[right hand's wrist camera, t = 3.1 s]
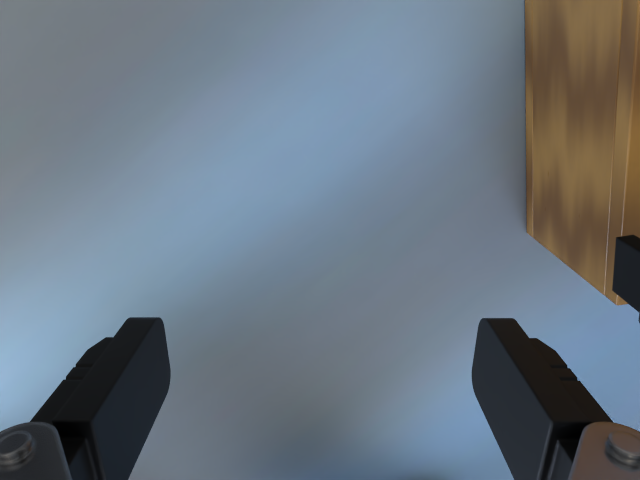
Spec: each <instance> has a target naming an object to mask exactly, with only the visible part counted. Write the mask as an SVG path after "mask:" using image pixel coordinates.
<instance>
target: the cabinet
mask: <svg viewBox="0 0 640 480" xmlns="http://www.w3.org/2000/svg"><path fill="white" fill-rule="evenodd" d="M525 65H526V191H527V233H528V234H529V235H530V236H532V237H533V238H534V239H535V240H537V241H538V242H539V243H540V244H541V245H543V246H544V247H545V248H546V249H548V250H549V251H550V252H551V253H553V254H554V255H555V256H556V257H557V258H559V259H560V260H561V261H562V262H564V263H565V264H566V265H567V266H569V267H570V268H571V269H572V270H574V271H575V272H576V273H577V274H578V275H580V276H581V277H582V278H583V279H585V280H586V281H587V282H588V283H590V284H591V285H592V286H593V287H594V288H596V289H597V290H598V291H599V292H601V293H602V294H603V295H605V296H606V297H607V298H608V299H610V300H611V301H612V302H613V303H614V304H616V305H624V304H628V303H627V302H626V301H624V300H623V299H622V298H621V297H619V296H618V295H617V294H616V293H614V292H613V291H612V285H613V272H614V258H615V245H616V237H621V236H627V235H635V236H637V237H639V238H640V0H525Z"/></svg>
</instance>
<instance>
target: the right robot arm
mask: <svg viewBox="0 0 640 480" xmlns="http://www.w3.org/2000/svg"><path fill="white" fill-rule="evenodd" d="M472 384H473V389H474V393H475V395H476V398H477V400H478V402H479V404H480V406H481V408H482V411H483V413H484V415H485V417H486V419H487V421H488V424H489V426H490V428H491V430H492V432H493V434H494V437H495V439H496V441H497V443H498V445H499V447H500V449H501V452H502V454H503V456H504V458H505V460H506V462H507V465H508V467H509V469H510V471H511V473H512V475H513V477H514V480H640V432H639V431H637V430H635V429H632V428H630V427H627V426H624V425H621V424H617V423H613V421H612V420H611V419H610V418H609V416H608V415H607V414H606V413H605V412H604V410H603V409H602V408H601V407H600V405H599V404H598V403H597V402H596V400H595V399H594V398H593V397H592V395H591V394H590V393H589V392H588V391H587V389H586V388H585V387H584V386H583V384H582V383H581V382H580V381H577V377H576V376H575V374H574V373H573V372H572V371H571V370H570V368H567V365H566V363H565V362H564V361H563V360H562V358H561V357H560V356H559V355H558V353H557V352H556V351H555V350H553V349H552V348H550V347H549V346H547V345H546V344H544V343H543V342H542V341H540V340H539V339H537V338H529V337H528V336H527V335H526V333H525V332H524V331H523V329H522V328H521V327H520V325H519V324H518V323H517V321H516V320H515V319H513V318H483V319H481V321H480V323H479V326H478V332H477V339H476V346H475V353H474V359H473V366H472ZM169 385H170V363H169V356H168V350H167V343H166V336H165V329H164V324H163V321H162V319H161V318H159V317H158V318H157V317H156V318H155V317H131V318H128V319H127V320H126V321H125V323H124V324H123V325H122V327H121V328H120V329H119V331H118V332H117V333H116V335H115V336H114V337H106V338H104V339H103V340H101V341H100V342H98V343H97V344H95V345H94V346H93V347H91V348H90V349H88V350H87V351H86V352H85V354H84V355H83V356H82V357H81V359H80V360H79V361H78V362H77V364H76V367H73V369H72V370H71V371H70V372H69V374H68V375H67V376H66V380H63V381H62V382H61V384H60V385H59V386H58V387H57V389H56V390H55V391H54V392H53V394H52V395H51V396H50V397H49V398H48V400H47V401H46V402H45V403H44V405H43V406H42V407H41V408H40V410H39V411H38V412H37V413H36V415H35V416H34V417H33V418H32V420H31V421H30V422H28V423H23V424H19V425H16V426H13V427H10V428H8V429H5V430H3V431H1V432H0V480H128V478H129V476H130V474H131V472H132V470H133V467H134V465H135V463H136V461H137V459H138V456H139V454H140V452H141V450H142V448H143V446H144V443H145V441H146V439H147V437H148V435H149V432H150V430H151V428H152V426H153V424H154V421H155V419H156V417H157V415H158V413H159V411H160V408H161V406H162V404H163V402H164V400H165V397H166V395H167V393H168V389H169Z"/></svg>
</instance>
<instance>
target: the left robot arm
mask: <svg viewBox="0 0 640 480" xmlns="http://www.w3.org/2000/svg"><path fill="white" fill-rule="evenodd" d="M612 291H613V292H614V293H616V294H617V295H618V296H619V297H621V298H622V299H623V300H624V301H626V302H627V303H628V304H629V305H631V306H632V307H633V308H634V309H636V310H637V311H638V312H639V323H640V238H639V237H637V236H635V235H627V236H621V237H616V245H615V258H614V272H613V285H612Z"/></svg>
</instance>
